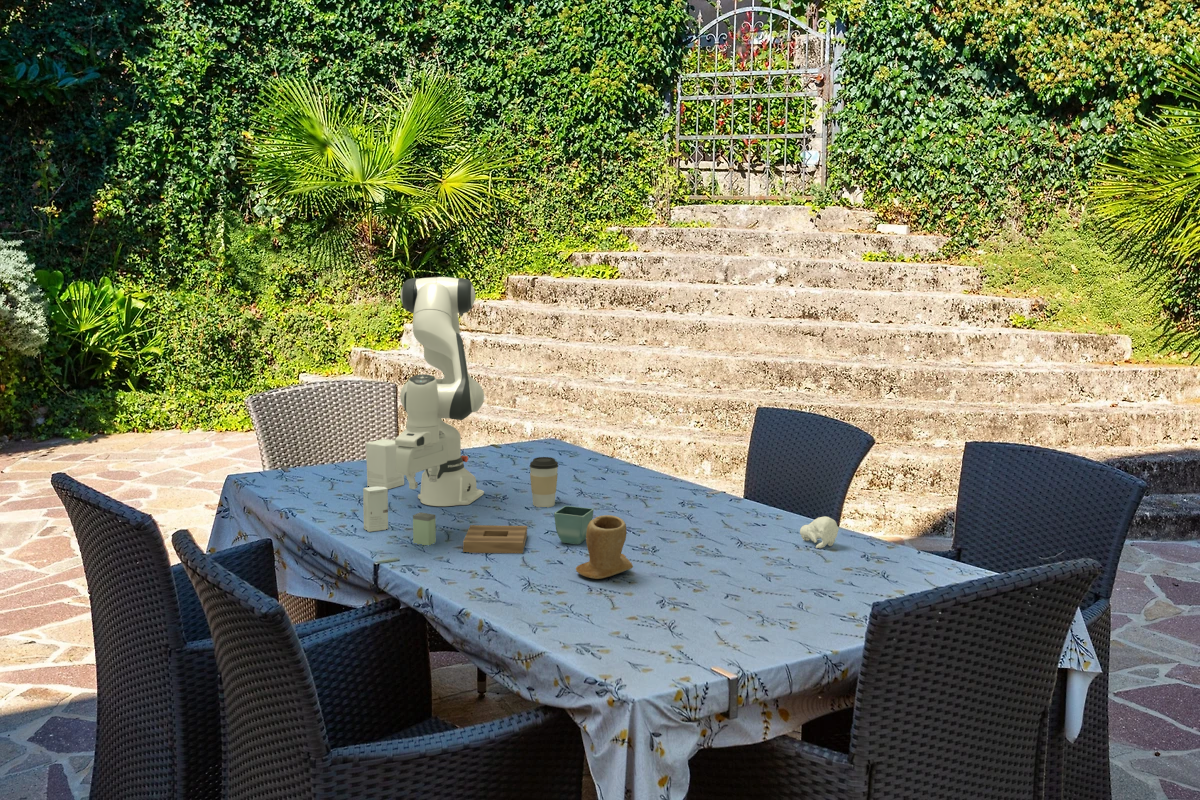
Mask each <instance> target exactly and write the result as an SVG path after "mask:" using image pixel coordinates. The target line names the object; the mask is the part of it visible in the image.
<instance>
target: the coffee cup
mask: <svg viewBox="0 0 1200 800" xmlns="http://www.w3.org/2000/svg"><path fill="white" fill-rule="evenodd" d="M529 464H530V465H529V470H530V471H529V476H530V477H529V478H530V489H531V495H532V506H533V505H534V506H533V507H535V506H536V507H535V508H540V507H547V508H552V507H554V506H555V504H556V492H557V485H558V469H559V464H558V461H557V460H556V459H555V458H553V457H551V456H549V457H548V456H539V457H535V458H533V459H532V461H530V463H529Z"/></svg>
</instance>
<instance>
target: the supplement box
mask: <svg viewBox="0 0 1200 800" xmlns="http://www.w3.org/2000/svg"><path fill="white" fill-rule="evenodd" d="M397 448H398V446H396V445H395V439H387V438H382V439H377V440H373V441H367V442H365V450H366V454H365V455H366V457H365V459H366V480H367V481H366V484H367V487H368V486H369V487H377V486H383V487H385V488H387V489H388V490H391V489H393V488H395V489H396V488H398V487H402V486H405V475H400V474H398V472H397V470H396V450H397Z"/></svg>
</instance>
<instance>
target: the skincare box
mask: <svg viewBox="0 0 1200 800" xmlns="http://www.w3.org/2000/svg"><path fill="white" fill-rule="evenodd" d="M362 490H363V491H362V492H363V495H362V496H363V497H362V499H363V500H362V502H363V503H362V505H363V508H362V509H363V510H362V511H363V529H364V530H365V531H366V530H367V532H368V533H369V532H378V531H385V530H386V529H387V530H389V503H388V502H389V496H388V495H389V489H387V488H385V487H383V486H377V487H368V486H367V487H363V488H362ZM387 530H386V531H387Z"/></svg>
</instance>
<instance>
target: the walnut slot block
mask: <svg viewBox="0 0 1200 800" xmlns="http://www.w3.org/2000/svg"><path fill="white" fill-rule="evenodd" d="M527 537H528V526H527V525H493V524H492V525H489V524H488V525H487V524H486V525H485V524H484V525H479V524H477V525H476V524H475V525H473V524H470V525H469V527H468V529H467V532H466V534H465V537H464V538H463V540H462V541H463V542H462V553H463V552H469V553H468V554H471V553H472V554H475V553H476V554H523V553H524V550H525V546H526V541H527V539H528V538H527Z"/></svg>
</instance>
